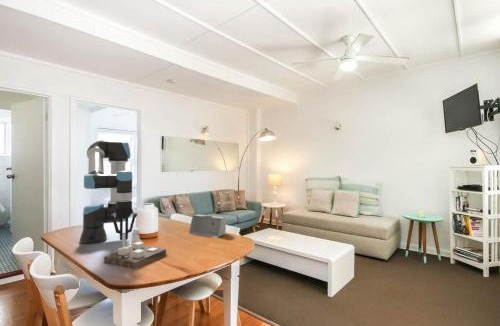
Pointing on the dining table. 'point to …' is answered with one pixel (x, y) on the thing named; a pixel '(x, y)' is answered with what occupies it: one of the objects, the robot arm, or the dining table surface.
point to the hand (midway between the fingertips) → (123, 245)
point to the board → (134, 262)
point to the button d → (152, 250)
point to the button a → (123, 251)
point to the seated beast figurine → (134, 237)
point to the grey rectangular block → (208, 225)
